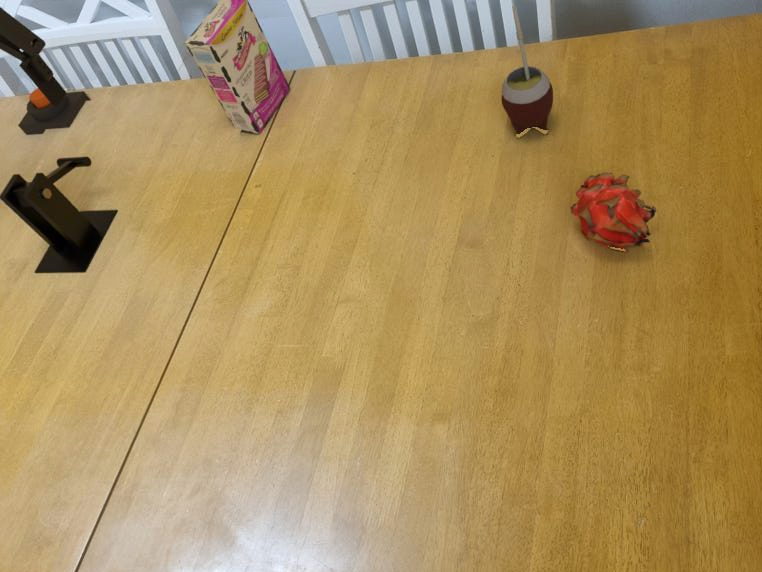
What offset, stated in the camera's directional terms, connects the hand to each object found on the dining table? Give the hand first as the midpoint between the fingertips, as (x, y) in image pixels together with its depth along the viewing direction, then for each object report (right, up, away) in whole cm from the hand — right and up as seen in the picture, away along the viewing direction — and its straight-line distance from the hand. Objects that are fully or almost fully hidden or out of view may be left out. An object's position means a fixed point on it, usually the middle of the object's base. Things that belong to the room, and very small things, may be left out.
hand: (20, 102), depth 103 cm
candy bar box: (+29, +5, +17) cm, 34 cm away
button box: (-11, +7, +29) cm, 32 cm away
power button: (-12, +9, +26) cm, 30 cm away
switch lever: (+3, -11, +4) cm, 12 cm away
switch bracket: (+4, -19, +9) cm, 21 cm away
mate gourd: (+72, -2, +2) cm, 72 cm away
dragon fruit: (+81, -21, -11) cm, 85 cm away
